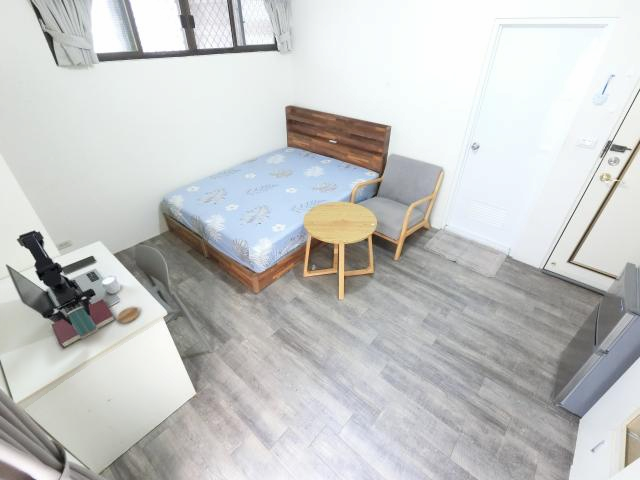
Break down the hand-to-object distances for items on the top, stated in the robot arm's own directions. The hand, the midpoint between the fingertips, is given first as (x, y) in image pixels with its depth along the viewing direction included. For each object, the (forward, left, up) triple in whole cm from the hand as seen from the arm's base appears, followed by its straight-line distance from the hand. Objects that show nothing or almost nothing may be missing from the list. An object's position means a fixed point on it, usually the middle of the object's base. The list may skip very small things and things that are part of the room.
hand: (80, 320), depth 130 cm
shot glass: (-13, +24, -10) cm, 29 cm away
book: (-7, +3, -10) cm, 12 cm away
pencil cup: (+1, 0, -7) cm, 7 cm away
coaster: (+8, +13, -10) cm, 18 cm away
